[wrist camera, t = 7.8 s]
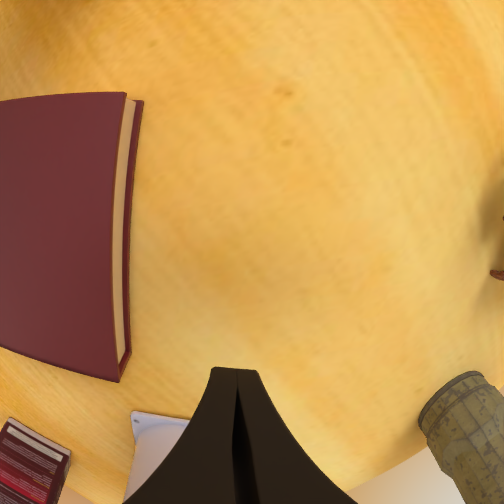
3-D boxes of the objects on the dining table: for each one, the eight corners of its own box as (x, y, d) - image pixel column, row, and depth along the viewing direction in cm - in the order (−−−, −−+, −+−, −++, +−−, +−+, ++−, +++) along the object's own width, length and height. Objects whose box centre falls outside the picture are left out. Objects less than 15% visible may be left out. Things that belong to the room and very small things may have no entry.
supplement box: (13, 433, 23) (-30, 523, 8) (9, 414, 22) (-43, 513, 7) (72, 466, 25) (41, 566, 10) (73, 451, 24) (36, 563, 9)
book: (131, 353, 19) (119, 383, 16) (10, 321, 18) (-10, 342, 15) (144, 101, 14) (124, 91, 11) (0, 108, 13) (-30, 107, 10)
